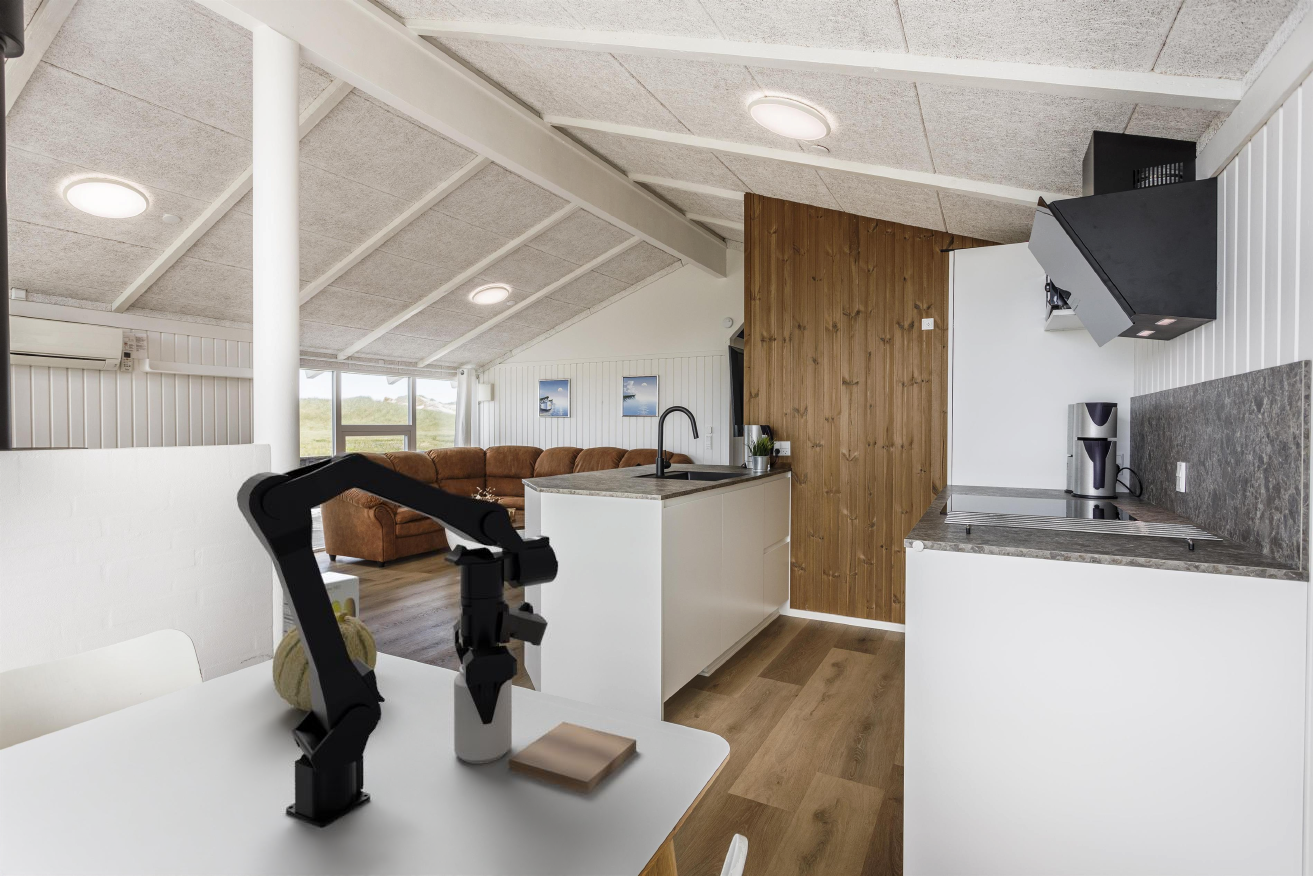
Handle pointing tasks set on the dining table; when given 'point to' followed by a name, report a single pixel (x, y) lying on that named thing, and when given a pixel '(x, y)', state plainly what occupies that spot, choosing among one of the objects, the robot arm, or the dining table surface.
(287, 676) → the cantaloupe
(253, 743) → the dining table surface
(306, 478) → the robot arm
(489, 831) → the dining table surface
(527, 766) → the walnut block
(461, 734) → the can
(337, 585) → the supplement box
